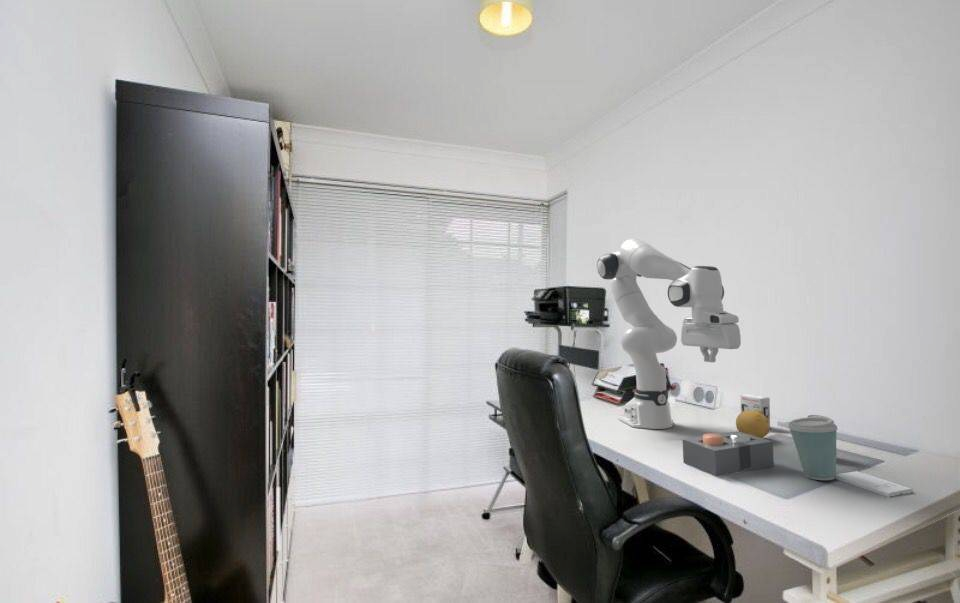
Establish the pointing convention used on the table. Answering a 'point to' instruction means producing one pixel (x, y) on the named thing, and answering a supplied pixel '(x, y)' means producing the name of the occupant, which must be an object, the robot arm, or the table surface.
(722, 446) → the block
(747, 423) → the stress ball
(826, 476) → the disposable coffee cup
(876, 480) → the external hard drive
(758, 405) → the ink box
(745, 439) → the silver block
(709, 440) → the terracotta button
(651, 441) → the table surface
